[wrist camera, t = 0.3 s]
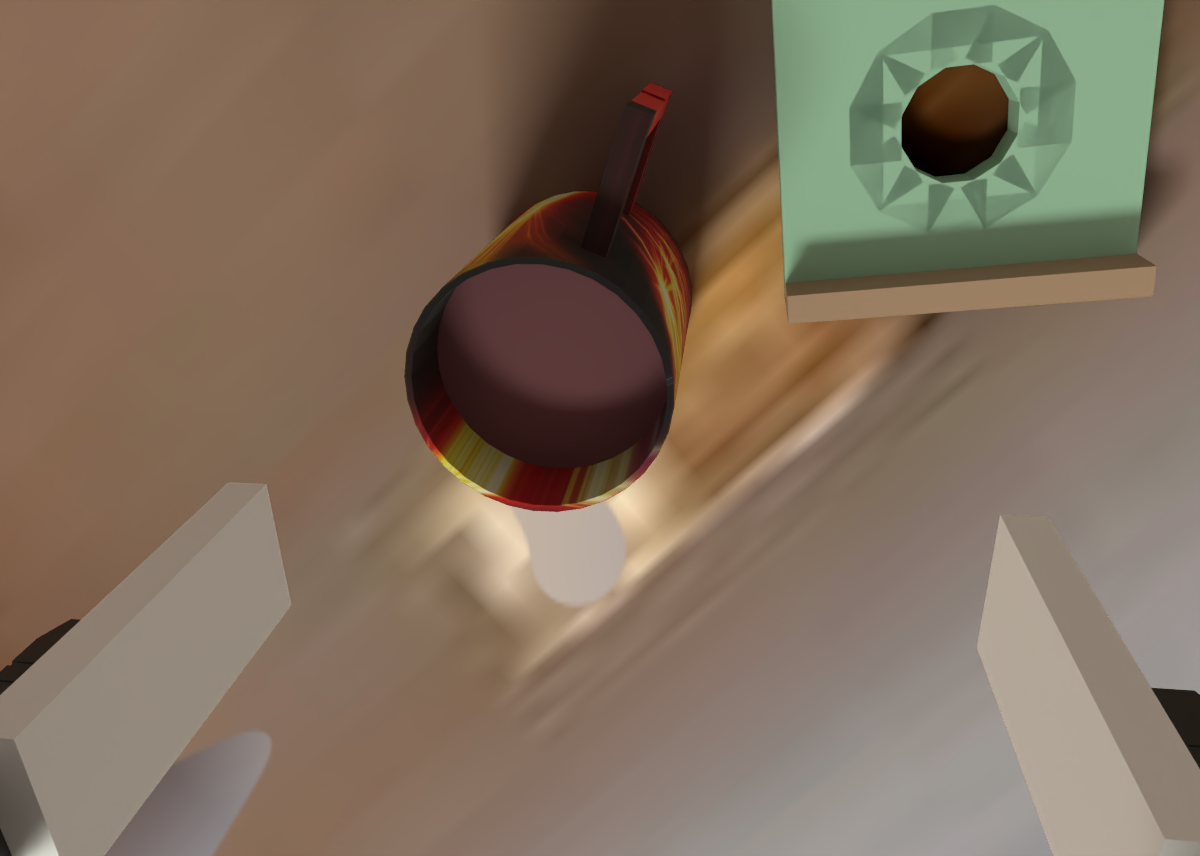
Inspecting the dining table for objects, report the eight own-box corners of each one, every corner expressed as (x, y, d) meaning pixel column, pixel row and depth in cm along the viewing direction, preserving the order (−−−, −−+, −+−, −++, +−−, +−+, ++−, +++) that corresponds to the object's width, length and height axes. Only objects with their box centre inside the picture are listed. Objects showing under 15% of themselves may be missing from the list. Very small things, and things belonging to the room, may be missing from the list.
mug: (673, 77, 38) (646, 104, 28) (701, 383, 44) (687, 505, 33) (453, 106, 40) (347, 142, 29) (507, 396, 46) (434, 517, 35)
